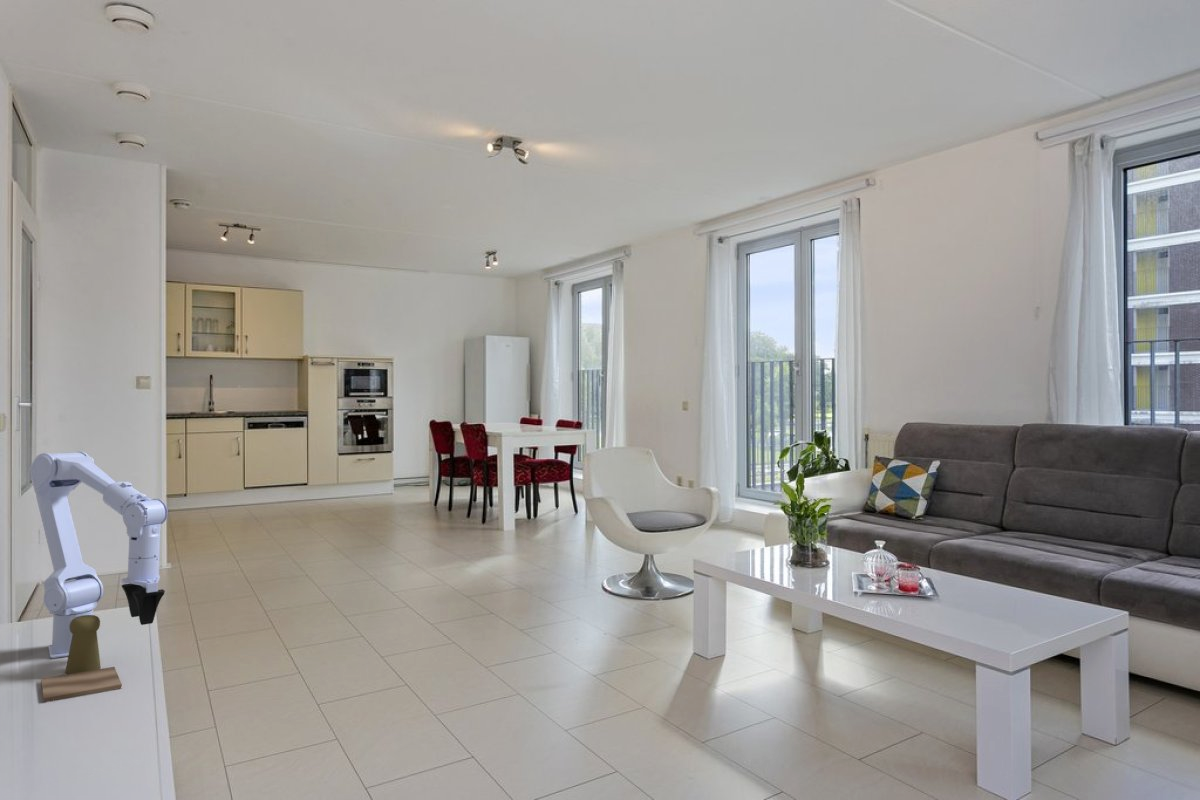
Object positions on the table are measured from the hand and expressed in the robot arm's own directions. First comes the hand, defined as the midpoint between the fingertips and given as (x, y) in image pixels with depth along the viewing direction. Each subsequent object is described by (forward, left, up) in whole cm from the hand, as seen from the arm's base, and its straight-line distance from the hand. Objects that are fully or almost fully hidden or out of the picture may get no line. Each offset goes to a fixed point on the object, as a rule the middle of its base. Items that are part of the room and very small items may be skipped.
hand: (141, 619), depth 157 cm
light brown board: (+10, -11, -9) cm, 17 cm away
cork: (0, -10, -9) cm, 13 cm away
